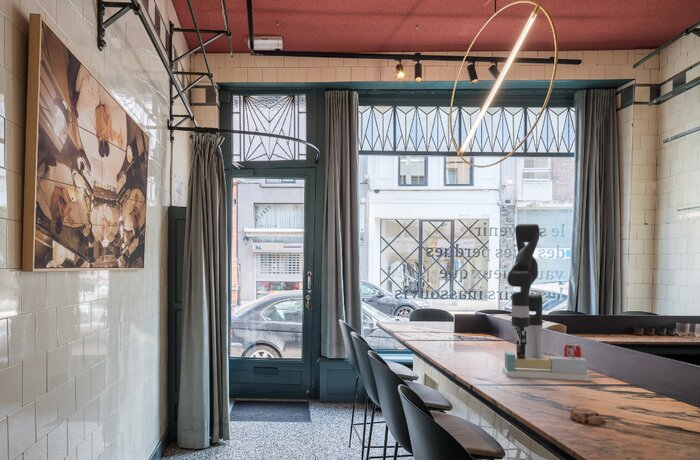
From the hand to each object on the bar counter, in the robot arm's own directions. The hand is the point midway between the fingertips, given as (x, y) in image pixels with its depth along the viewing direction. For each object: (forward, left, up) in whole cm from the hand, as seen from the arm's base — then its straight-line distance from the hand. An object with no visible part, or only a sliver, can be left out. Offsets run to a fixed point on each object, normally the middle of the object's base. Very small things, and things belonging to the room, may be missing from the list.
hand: (520, 352), depth 210 cm
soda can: (-14, +25, -10) cm, 31 cm away
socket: (0, -5, -8) cm, 9 cm away
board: (0, +10, -10) cm, 14 cm away
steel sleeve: (0, +20, -8) cm, 21 cm away
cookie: (+60, +9, -10) cm, 62 cm away
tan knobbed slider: (0, +5, -7) cm, 8 cm away
